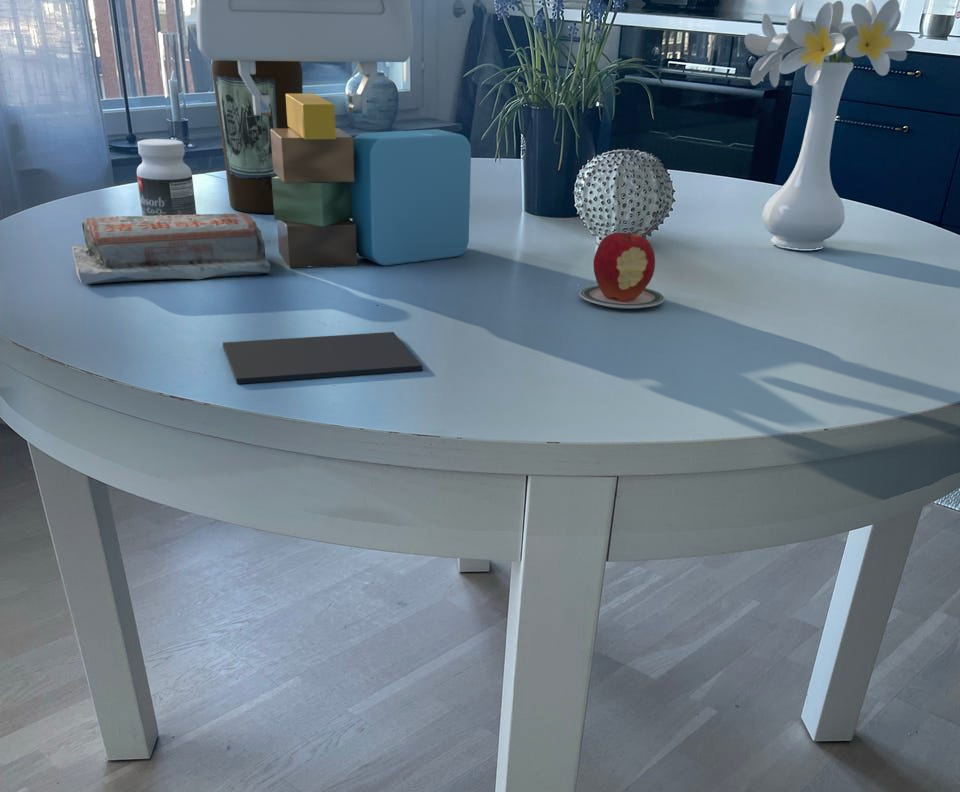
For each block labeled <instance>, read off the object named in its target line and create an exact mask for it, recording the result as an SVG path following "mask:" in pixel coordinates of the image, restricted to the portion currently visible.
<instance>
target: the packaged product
mask: <svg viewBox="0 0 960 792" xmlns="http://www.w3.org/2000/svg"><path fill="white" fill-rule="evenodd" d="M81 226H82V231H83V236H84V242H85V244H83V245H82V244H81V245H80V244H79V245H76V244H75V245H72V247H71V248H72V256H73V257H72V258H73V260H74V265H75V266H74V267H75V270H76V276H77V278H78V280H79V281H80V284H81V285H90V284H103V283H118V282H134V281H136V282H138V281H163V280H202V279H206V278H220V277H221V278H222V277H239V276H254V275H255V276H256V275H262V274H267V273H270V271H271V263H270V261H268V259H267V258H266V244H265V240H264V239H263V235H262V230H261V229H260V228H259V227H258V225H257V223H256V221H255V220H254V219H253V218H252V217H251V216H250V215H249V214H248V213H243V212H241V213H205V214H201V213H196V214H194V215H157V216H142V215H128V216H126V215H125V216H124V215H122V216H120V215H119V216H117V215H116V216H115V215H114V216H97V217H94V216H93V217H85V218H84V220H83V222H82V223H81Z"/></svg>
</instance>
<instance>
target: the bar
mask: <svg viewBox="0 0 960 792" xmlns="http://www.w3.org/2000/svg"><path fill="white" fill-rule="evenodd" d="M286 108H287V124H288V127H289V128H291V129H292V130H293V131H295V132H296V133H297V134H299V135H300V136H301V137H303V138H304V139H305V140H325V139H336V130H335V128H336V111H335V108H336V106H335V104H334V103H333V102H331V101H329V100H327V99H325V98H323V97H322V96H319V95H317V94H316V93H303V94H286Z"/></svg>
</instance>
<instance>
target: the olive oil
mask: <svg viewBox="0 0 960 792" xmlns="http://www.w3.org/2000/svg"><path fill="white" fill-rule="evenodd" d="M255 67H256V74H250V76H251V78H252V80H253V81H254V83H255V85H256V86H257V88H258V90H259V91H260V93H267V94H268V95H270V104H269V106H270V108H271V115H261V116H259V115H255V114H254V110H253V99H252V94H251V93H250V91H249V89H248V88H247V86H246V84H245V83H244V81H243V79H242V78H241V76H240V74H239V72H238V61H231V60H211V75H212V82H213V89H214V96H215V102H216V108H217V109H216V110H217V116H218V121H219V131H220V137H221V145H222V152H223V159H224V166H225V175H226V182H227V191H228V198H229V205H230V207H231V209H233V210H236V211H238V212H241V213H249V214H262V215H263V214H266V215H267V214H272V213H273V214H274V204H273V191H272V177H276V176H277V175H276V174H275V173H274V171H273V160H272V146H271V133H270V129H283V128H289V127H288V124H287V108H286V94H304V93H303V92H304V91H303V90H304V89H303V86H304V85H303V68H302V64H301V61H255ZM273 214H272V215H273Z"/></svg>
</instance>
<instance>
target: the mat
mask: <svg viewBox="0 0 960 792" xmlns="http://www.w3.org/2000/svg"><path fill="white" fill-rule="evenodd" d="M222 349H223V351H224V354H225V356H226V359H227V362H228V364H229V366H230V367H229V368H230V370H231V372H232V374H233V375H232V376H233V377H234V380H235V383H236V384H237V385H243V384H255V383H257V384H258V383H269V382H282V381H283V382H284V381H296V380H297V381H298V380H309V379H322V378H338V377H350V376H363V375H365V376H366V375H378V374H391V373H405V372H418V371H419V372H420V371H423V365H422V363H421V362H420V361H419V360H418V358H417V357H416V356H415V355H414V354H413V353H412V352H411V351H410V350H409V349H408V347H407V346H406V344H405V343H403V341H402V340H401V339H400V337H398V335H397V334H396V333H395V332H394V331H386V332H385V331H384V332H369V333H355V334H338V335H336V334H335V335H321V336H305V337H291V338H290V337H288V338H272V339H257V340H256V339H255V340H243V341H242V340H240V341H226V342H224V341H223V342H222Z"/></svg>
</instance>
